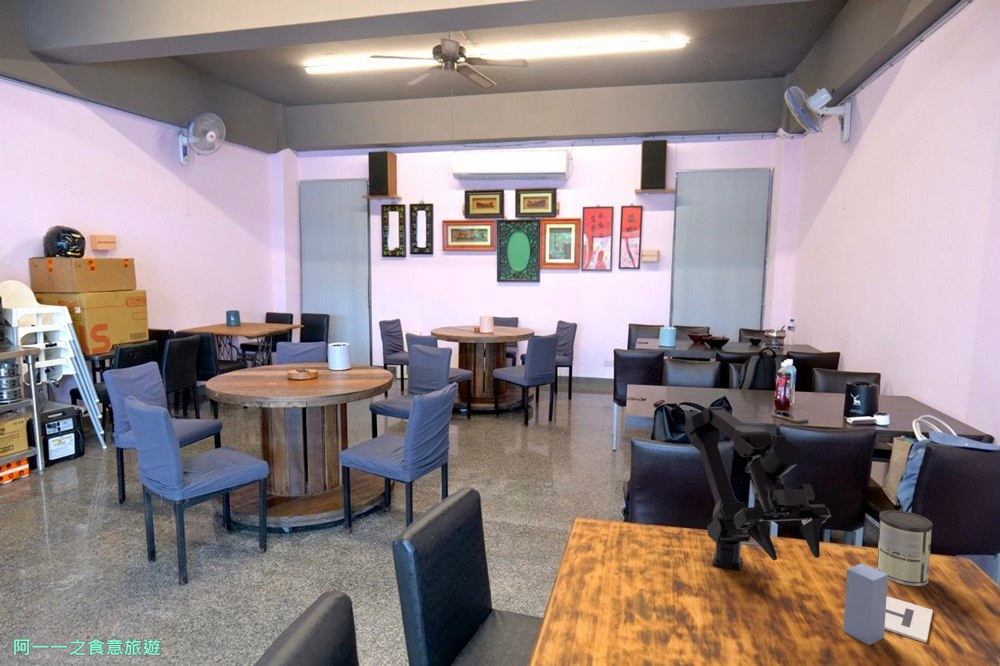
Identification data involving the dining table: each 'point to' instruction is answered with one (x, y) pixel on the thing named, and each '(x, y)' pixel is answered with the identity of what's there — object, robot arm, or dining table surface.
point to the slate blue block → (865, 603)
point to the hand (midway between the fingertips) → (796, 558)
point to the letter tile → (907, 619)
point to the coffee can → (904, 547)
